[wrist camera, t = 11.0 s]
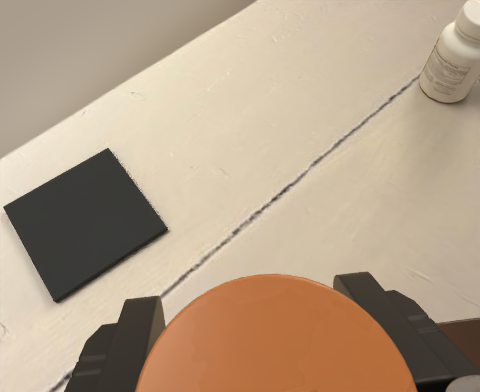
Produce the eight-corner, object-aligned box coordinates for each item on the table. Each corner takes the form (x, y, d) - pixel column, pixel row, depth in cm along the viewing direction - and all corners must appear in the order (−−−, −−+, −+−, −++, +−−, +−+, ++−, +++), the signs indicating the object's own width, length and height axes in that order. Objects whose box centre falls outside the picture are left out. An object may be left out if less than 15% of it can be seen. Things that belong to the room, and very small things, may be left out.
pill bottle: (451, 63, 39) (495, -13, 32) (477, 97, 37) (530, 24, 30) (409, 74, 38) (445, -1, 31) (433, 109, 36) (477, 37, 29)
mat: (56, 303, 28) (54, 301, 28) (5, 209, 32) (2, 206, 31) (168, 230, 31) (167, 227, 31) (109, 150, 34) (108, 147, 34)
